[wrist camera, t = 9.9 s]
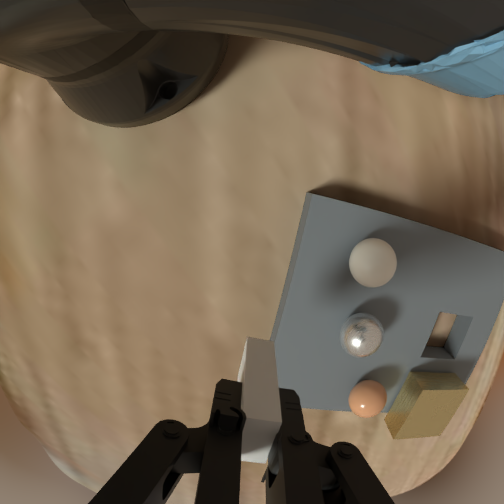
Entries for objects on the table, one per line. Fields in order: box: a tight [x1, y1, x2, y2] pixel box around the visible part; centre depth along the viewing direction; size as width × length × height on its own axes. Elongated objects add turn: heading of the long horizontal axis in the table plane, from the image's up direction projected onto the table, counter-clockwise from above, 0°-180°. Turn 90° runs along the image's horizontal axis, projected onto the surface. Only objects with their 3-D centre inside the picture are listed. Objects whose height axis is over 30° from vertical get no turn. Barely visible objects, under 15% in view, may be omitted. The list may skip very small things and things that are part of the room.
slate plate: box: [270, 192, 504, 412], centre depth 25 cm, size 22×18×2 cm
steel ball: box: [340, 313, 384, 358], centre depth 22 cm, size 3×3×3 cm
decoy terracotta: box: [348, 380, 387, 418], centre depth 23 cm, size 3×3×3 cm
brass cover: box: [384, 371, 469, 439], centre depth 24 cm, size 6×6×3 cm
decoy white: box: [349, 238, 397, 288], centre depth 21 cm, size 3×3×3 cm
